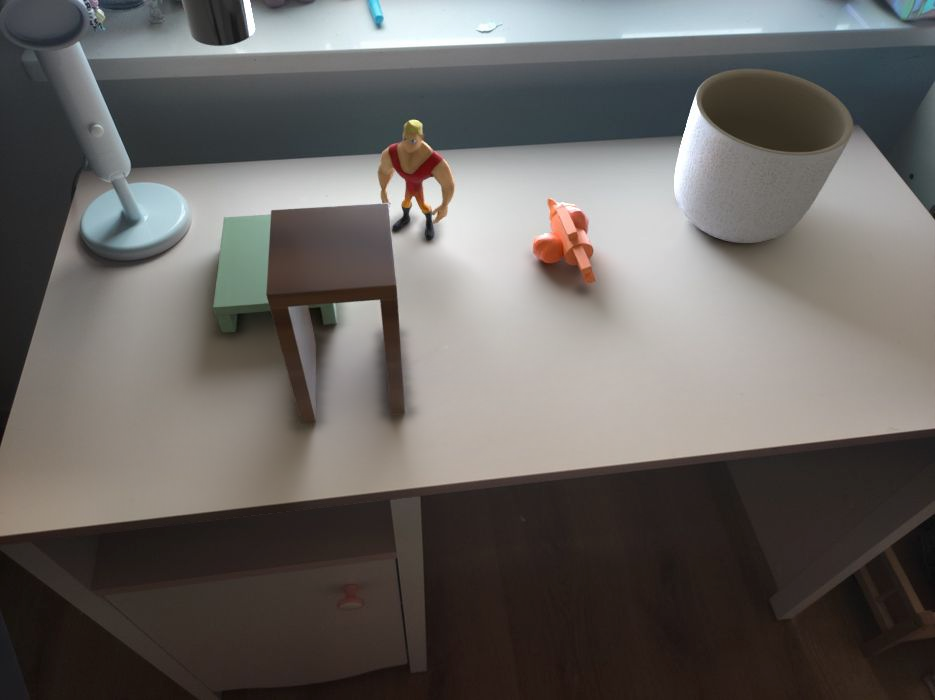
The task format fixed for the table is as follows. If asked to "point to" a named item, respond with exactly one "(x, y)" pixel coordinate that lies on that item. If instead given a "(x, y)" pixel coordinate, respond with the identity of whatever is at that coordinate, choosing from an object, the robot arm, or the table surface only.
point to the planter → (757, 153)
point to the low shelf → (247, 271)
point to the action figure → (416, 174)
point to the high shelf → (331, 286)
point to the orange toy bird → (566, 239)
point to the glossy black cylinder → (219, 21)
